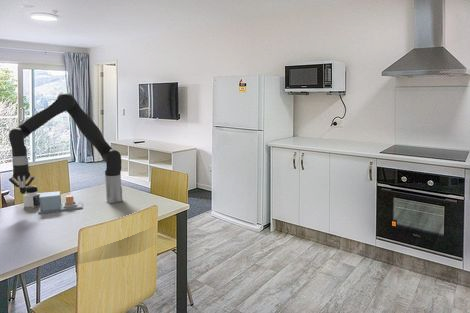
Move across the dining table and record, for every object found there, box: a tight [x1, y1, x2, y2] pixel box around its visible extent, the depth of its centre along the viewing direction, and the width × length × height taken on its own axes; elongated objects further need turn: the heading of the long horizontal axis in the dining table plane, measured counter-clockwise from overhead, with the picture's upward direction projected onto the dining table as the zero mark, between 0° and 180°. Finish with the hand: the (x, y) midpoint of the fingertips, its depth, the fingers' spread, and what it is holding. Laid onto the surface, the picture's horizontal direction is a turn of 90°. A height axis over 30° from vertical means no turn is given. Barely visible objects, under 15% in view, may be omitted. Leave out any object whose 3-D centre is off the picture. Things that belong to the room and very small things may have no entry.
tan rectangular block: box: [65, 194, 75, 205], centre depth 213 cm, size 4×4×6 cm
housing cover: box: [39, 190, 62, 211], centre depth 209 cm, size 10×10×8 cm
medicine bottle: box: [22, 185, 41, 208], centre depth 216 cm, size 7×7×12 cm
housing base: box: [37, 201, 83, 215], centre depth 211 cm, size 23×12×2 cm, turn 115°
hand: (23, 193), depth 202 cm, fingers closed
